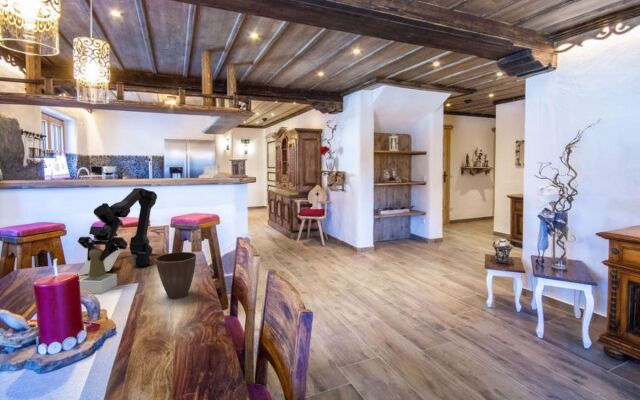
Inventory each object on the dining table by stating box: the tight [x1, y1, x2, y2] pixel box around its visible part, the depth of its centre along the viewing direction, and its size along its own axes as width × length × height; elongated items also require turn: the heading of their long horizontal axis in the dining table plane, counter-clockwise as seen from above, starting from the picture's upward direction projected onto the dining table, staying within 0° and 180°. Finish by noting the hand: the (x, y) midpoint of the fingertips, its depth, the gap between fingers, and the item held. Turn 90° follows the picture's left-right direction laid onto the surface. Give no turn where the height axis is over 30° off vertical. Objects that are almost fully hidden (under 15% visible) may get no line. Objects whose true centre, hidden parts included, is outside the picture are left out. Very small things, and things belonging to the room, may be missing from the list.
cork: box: [88, 248, 107, 277], centre depth 144 cm, size 6×6×11 cm
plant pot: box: [155, 251, 197, 300], centre depth 138 cm, size 15×15×16 cm
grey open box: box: [79, 273, 118, 295], centre depth 145 cm, size 10×10×5 cm
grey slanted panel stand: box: [77, 249, 123, 276], centre depth 171 cm, size 16×9×15 cm
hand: (94, 260), depth 143 cm, fingers closed on cork, 5 cm apart
